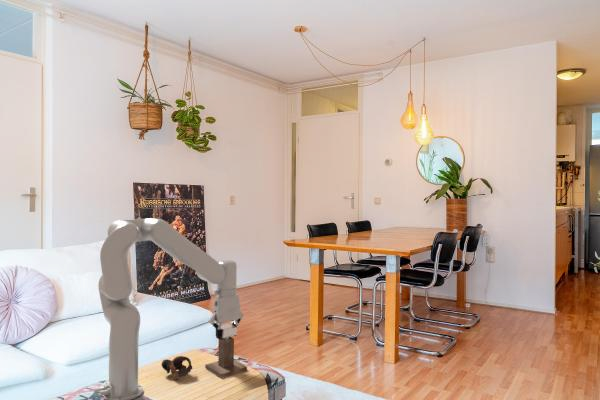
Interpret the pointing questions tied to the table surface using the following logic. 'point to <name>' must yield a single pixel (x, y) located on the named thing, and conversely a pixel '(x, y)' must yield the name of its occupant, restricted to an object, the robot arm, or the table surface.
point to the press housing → (226, 360)
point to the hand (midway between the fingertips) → (226, 336)
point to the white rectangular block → (228, 331)
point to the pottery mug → (177, 366)
